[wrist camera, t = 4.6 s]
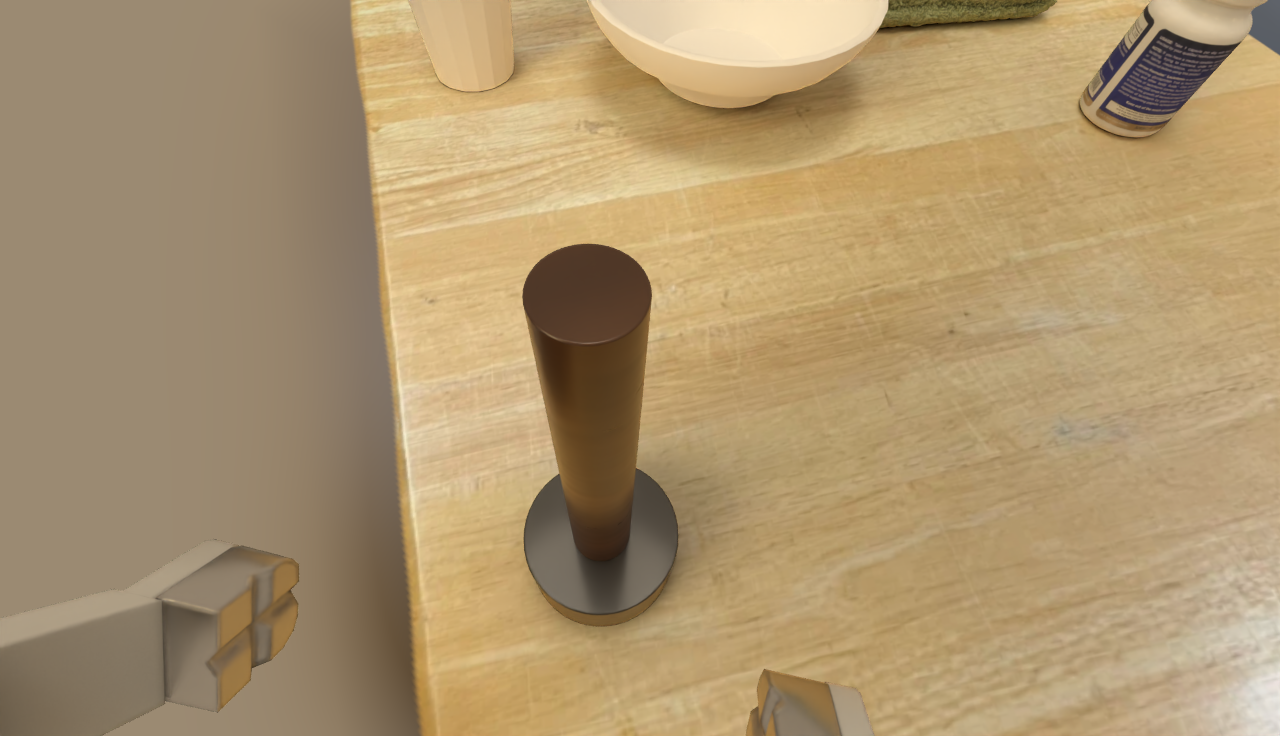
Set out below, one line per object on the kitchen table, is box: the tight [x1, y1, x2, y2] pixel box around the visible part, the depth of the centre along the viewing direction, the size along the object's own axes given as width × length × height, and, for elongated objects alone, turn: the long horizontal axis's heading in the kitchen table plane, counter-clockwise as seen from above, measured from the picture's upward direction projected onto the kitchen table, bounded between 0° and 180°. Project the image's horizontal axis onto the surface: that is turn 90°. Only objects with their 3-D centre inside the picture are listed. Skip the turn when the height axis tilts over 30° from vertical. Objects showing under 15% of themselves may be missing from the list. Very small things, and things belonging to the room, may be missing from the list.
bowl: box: [586, 0, 888, 108], centre depth 40 cm, size 20×20×7 cm
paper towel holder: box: [522, 244, 678, 626], centre depth 18 cm, size 6×6×18 cm
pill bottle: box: [1080, 0, 1267, 137], centre depth 39 cm, size 6×6×10 cm
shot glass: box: [408, 0, 514, 92], centre depth 40 cm, size 7×7×7 cm
